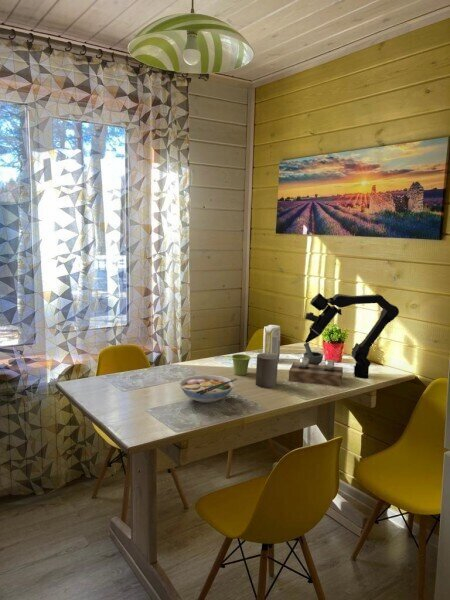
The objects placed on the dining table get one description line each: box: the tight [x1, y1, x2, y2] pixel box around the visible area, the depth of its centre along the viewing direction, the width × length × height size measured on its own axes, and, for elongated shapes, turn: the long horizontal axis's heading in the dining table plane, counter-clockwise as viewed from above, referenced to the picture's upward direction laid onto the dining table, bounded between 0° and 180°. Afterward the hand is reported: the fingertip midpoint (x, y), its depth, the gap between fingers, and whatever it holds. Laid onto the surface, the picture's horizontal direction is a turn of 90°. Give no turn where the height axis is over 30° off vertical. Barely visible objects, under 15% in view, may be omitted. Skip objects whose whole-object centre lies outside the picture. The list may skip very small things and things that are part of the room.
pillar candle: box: [255, 352, 279, 389], centre depth 230 cm, size 10×10×15 cm
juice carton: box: [262, 324, 282, 361], centre depth 269 cm, size 8×9×19 cm
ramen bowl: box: [178, 374, 238, 404], centre depth 209 cm, size 25×23×8 cm
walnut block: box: [288, 362, 344, 387], centre depth 241 cm, size 24×14×5 cm, turn 75°
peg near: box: [324, 359, 335, 372], centre depth 239 cm, size 4×4×5 cm
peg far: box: [299, 356, 308, 369], centre depth 242 cm, size 4×4×5 cm
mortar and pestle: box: [303, 342, 324, 365], centre depth 261 cm, size 11×9×12 cm
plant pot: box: [231, 353, 252, 377], centre depth 246 cm, size 9×9×9 cm
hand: (306, 341), depth 245 cm, fingers open, 9 cm apart
